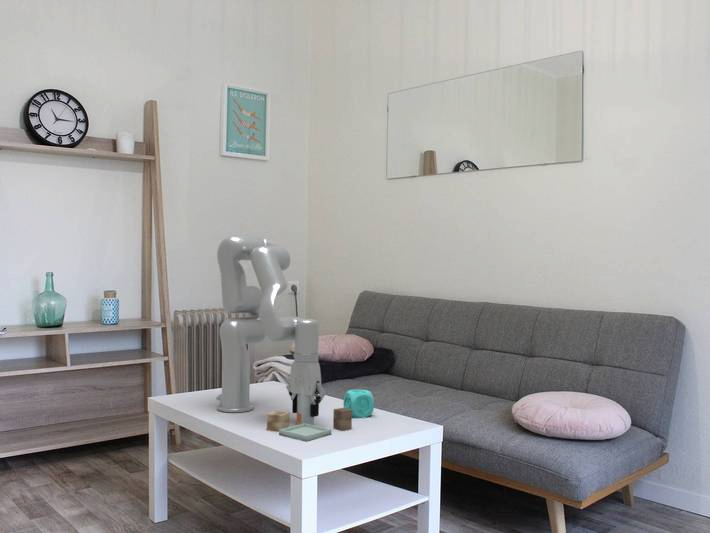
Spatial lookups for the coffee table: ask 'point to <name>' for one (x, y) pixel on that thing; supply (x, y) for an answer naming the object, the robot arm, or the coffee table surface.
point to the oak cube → (277, 420)
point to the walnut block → (342, 419)
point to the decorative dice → (359, 402)
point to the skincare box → (304, 409)
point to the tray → (305, 432)
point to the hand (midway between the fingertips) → (305, 414)
